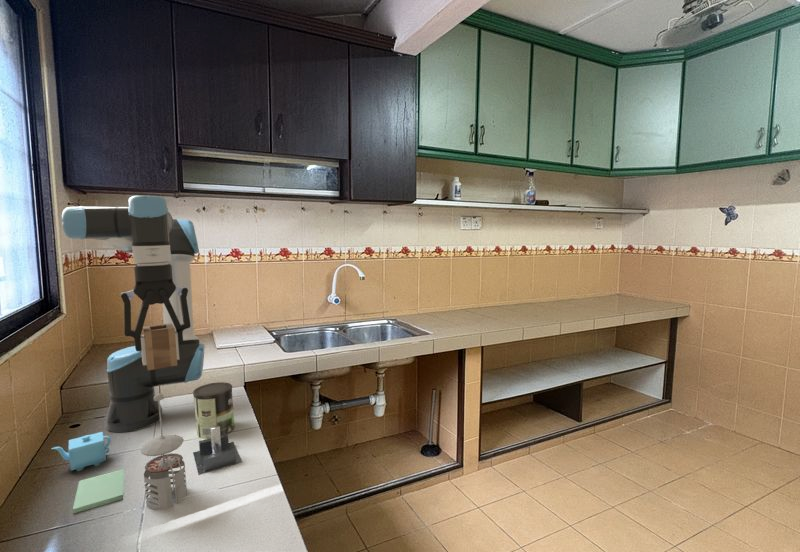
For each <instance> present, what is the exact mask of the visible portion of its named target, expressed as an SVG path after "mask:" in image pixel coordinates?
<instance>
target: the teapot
mask: <svg viewBox="0 0 800 552" xmlns="http://www.w3.org/2000/svg"><path fill="white" fill-rule="evenodd" d="M105 439H107V440H108V441H107V443H106V444H105ZM111 441H112V439H111V437H110V436H109V435H104V432H103V431H99V432H95V433H92V434H85V435H83V436H80V437H76V438H72V439H69V440H68V450H67V451H68V452H66V451H65V450H64V448H63V447H61V446H53V447H52V448H51V450H56V451H58V452H59V454H60V455H61V457H62V459H63V460H65V461H68V462H69V467H70V471H71V472H72V471H74V470H76V472H80V471H83V470H84V469H85V467H88V466H92V465H93V466H94V467H97V466H100V465H102V463H103V462H106V461H107V458H106V456H107V455H106V454H109V452H110V448H109V446H110V443H111Z"/></svg>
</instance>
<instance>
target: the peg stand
mask: <svg viewBox="0 0 800 552" xmlns="http://www.w3.org/2000/svg"><path fill="white" fill-rule="evenodd" d="M210 430H211V438H209V439H201V440H199V441H198V450H197V451H194V452H192V455H193V457H194V458H193V459H194V462H195V466H196V471H197V474H198V476H200V475H205V474H207V473H210V472H214V471H217V470H221V469H224V468H229V467H231V466H234V465H238V464H241V463H243V460H242V458H241V455H240V453H239V451H238V449H237V447H236V445H235V443H234V441H230V442H229V434H225V435H221V436H220V426H219V425H215V426H212V427H211V428H210Z"/></svg>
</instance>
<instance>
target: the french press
mask: <svg viewBox="0 0 800 552" xmlns="http://www.w3.org/2000/svg"><path fill="white" fill-rule="evenodd" d="M164 399H165V398H164V394H163V393H157V394H155V396H154V401H158V404H159V416H160V420H159V425H160V435H159V436H156V437H153V438H151V439H149V440H148V441H147V442H145V443H144V444H143V445H142V446H141V448H140V449H139V450H140V453H141V454H142V455H143V456H146V457H154V458H152V459H150V460H149V461H148V462H147V463H145V466H144V469H145V471H144V472H143V482H144V483H145V484H144V489H145V490H144V492H145V495H146V496H145V504H146V508H149V509H152V510H163V509H168V508H172V507H173V505H174V504H173V493H172V492H173V491H175V503H176V504H179V503H180V502H182V501H183V500H184V498H186V496H187V493H188V489H187V477H186V476H187V475H186V464H185V461H184V460H183V459H184V458H183V456H182V455H181V454H179V453H172V452H174V451H176V450H177V449H179V447H181V446H182V444H183V443H184V441H185V439H184V437H183V436H181V435H177V434H163V427H162V426H163V425H162V418H161V412H160V405H161V401H163V400H164ZM178 468H179V470H173V469H178ZM170 475H171V476H170ZM171 480H172V481H171ZM174 489H175V490H174ZM156 493H157V494H156ZM152 497H154V498H152ZM155 498H156V499H155ZM148 501H149V502H148ZM150 502H152V503H150ZM153 503H154V504H153ZM155 503H156V504H158V505H156V504H155Z"/></svg>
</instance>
